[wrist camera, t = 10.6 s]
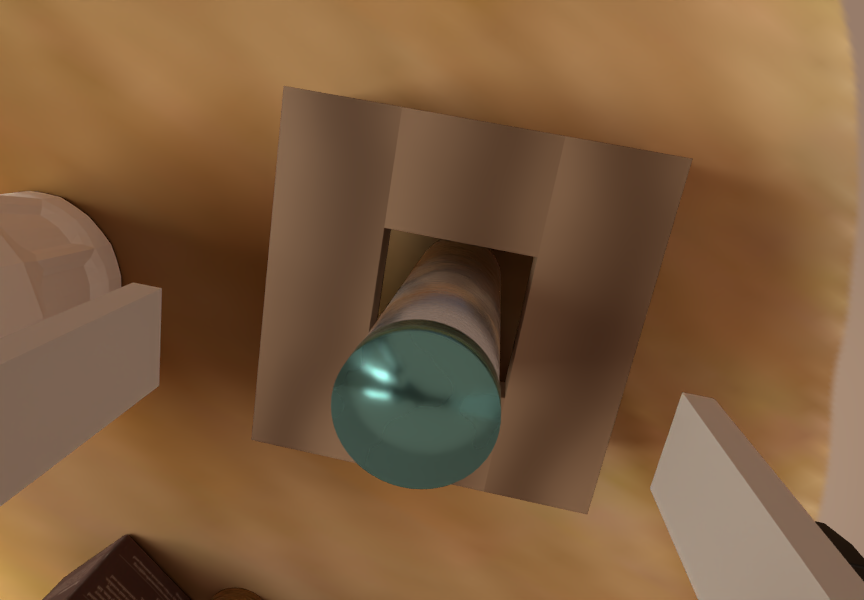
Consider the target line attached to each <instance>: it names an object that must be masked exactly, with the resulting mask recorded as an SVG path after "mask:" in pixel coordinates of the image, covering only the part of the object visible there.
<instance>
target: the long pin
mask: <svg viewBox="0 0 864 600" xmlns="http://www.w3.org/2000/svg"><path fill="white" fill-rule="evenodd" d="M500 316H501V271H500V267H499V264H498V261H497V259H496V257H495V256H494V254H493V253H492V252H491V250H490V249H489V248H487V247H481V246H476V245H471V244H466V243H461V242H455V241H450V240H445V239H442V240H440V241H438V242H436V243H434V244H433V245H432V246H431V247H429V248H428V250H427V251H426V252H425V253H424V255H423V256H422V257H421V259H420V260H419V262H418V263H417V265H416V266H415V267H414V269H413V270H412V272H411V273H410V275H409V276H408V277H407V279H406V280H405V282H404V283H403V285H402V286H401V287H400V289H399V290H398V292H397V293H396V295H395V296H394V297H393V299H392V300H391V302H390V303H389V305H388V306H387V307H386V309H385V310H384V312H383V313H382V315H381V316H380V317H379V319H378V320H377V322H376V323H375V325H374V326H373V327H372V329H371V330H370V332H369V333H368V335H367V336H366V338H365V339H364V340H363V341H362V342H361V343H360V344H359V345H358V346H357V347H356V349H355V350H354V351H353V353H352V354H351V355H350V357H349V358H348V360H347V361H346V363H345V364H344V365H343V367H342V368H341V370H340V372H339V374H338V376H337V378H336V381H335V383H334V386H333V391H332V396H331V414H332V420H333V425H334V428H335V431H336V433H337V436H338V438H339V440H340V442H341V444H342V446H343V447H344V448H345V450H346V451H347V453H348V454H349V455H350V456H351V458H352V459H353V460H354V461H355V462H356V463H357V464H358V465H359V466H361V467H362V468H363V469H364V470H366V471H367V472H368V473H370V474H371V475H373V476H375V477H377V478H378V479H380V480H382V481H385V482H387V483H390V484H393V485H396V486H400V487H405V488H411V489H433V488H438V487H444V486H447V485H450V484H453V483H455V482H458V481H460V480H462V479H464V478H465V477H467V476H468V475H470V474H472V473H473V472H474V471H475V470H476V469H478V468H479V467H480V466H481V465H482V464H483V462H484V461H485V460H486V459H487V458H488V456H489V455H490V453H491V452H492V450H493V448H494V446H495V443H496V441H497V438H498V435H499V431H500V424H501V389H500V382H499V377H500Z"/></svg>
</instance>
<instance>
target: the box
mask: <svg viewBox="0 0 864 600" xmlns="http://www.w3.org/2000/svg"><path fill="white" fill-rule="evenodd" d="M42 600H190V599H189V598H188V597H187V596H186V595H185V594H184V593H183V592H182V591H181V590H180V588H179V587H178V586H177V585H176V584H175V583H174V582H173V581H172V580H171V579H170V578H169V577H168V576H167V575H166V574H165V573H164V572H163V571H162V570H161V569H160V568H159V567H158V566H157V565H156V564H155V563H154V562H153V560H152V559H151V558H150V557H149V556H148V555H147V554H146V553H145V552H144V551H143V550H142V549H141V548H140V547H139V546H138V545H137V544H136V542H135V541H134V540H133V539H132V538H131V537H130V536H129V535H128V534H127V535H124V536H122V537H121V538H120V539H118V540H117V541H115V542H114V543H113V544H111V545H110V546H108V547H107V548H105V549H104V550H103V551H101V552H100V553H98V554H97V555H95V556H94V557H93V558H91V559H90V560H88V561H87V562H85V563H84V564H83V565H81V566H80V567H78V568H77V569H75V570H74V571H73V572H71V573H70V574H68V575H67V576H66V577H64V578H63V579H62V580H61V581H60V582H59V583H58V584H57V585H56V586H55V587H54V588H53V589H52V590H51V592H50V593H49V594H48V595H47V596H45V597H44V598H43V599H42Z"/></svg>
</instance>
